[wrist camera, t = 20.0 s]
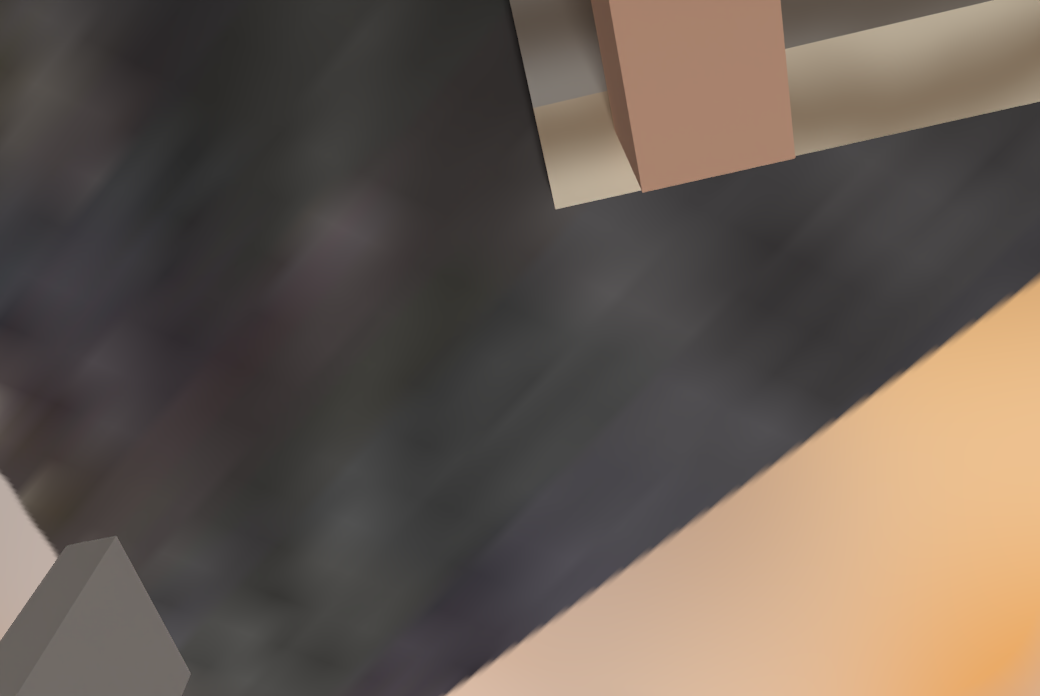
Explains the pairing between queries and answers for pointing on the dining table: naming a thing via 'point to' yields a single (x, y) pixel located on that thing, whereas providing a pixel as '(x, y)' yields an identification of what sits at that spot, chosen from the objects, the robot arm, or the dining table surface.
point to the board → (794, 76)
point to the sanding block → (695, 86)
